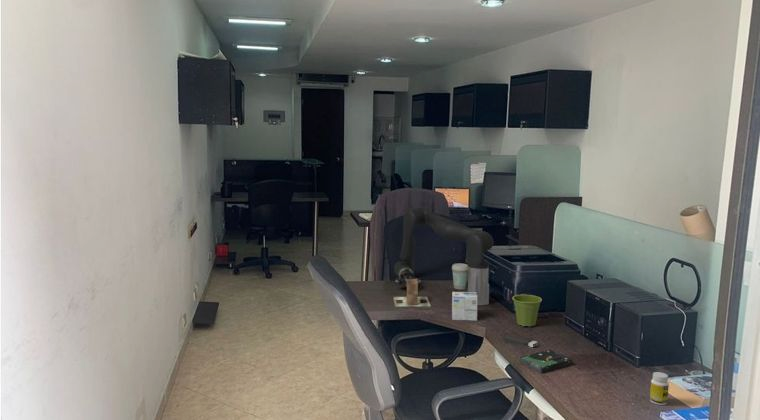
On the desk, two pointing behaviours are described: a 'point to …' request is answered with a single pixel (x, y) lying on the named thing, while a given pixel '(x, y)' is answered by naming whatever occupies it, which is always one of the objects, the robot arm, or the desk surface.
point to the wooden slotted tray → (411, 305)
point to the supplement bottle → (659, 388)
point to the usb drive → (519, 340)
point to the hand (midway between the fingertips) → (409, 285)
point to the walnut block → (412, 291)
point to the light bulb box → (464, 306)
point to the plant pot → (526, 309)
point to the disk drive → (545, 361)
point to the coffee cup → (460, 275)
